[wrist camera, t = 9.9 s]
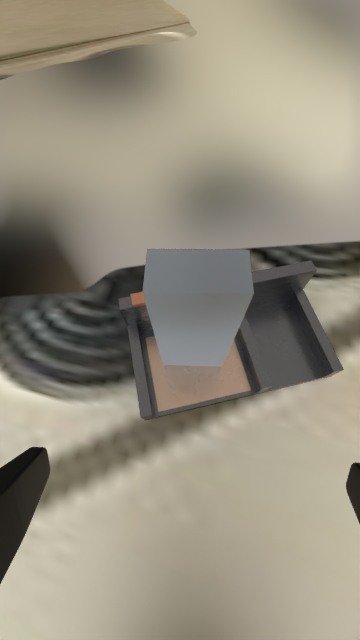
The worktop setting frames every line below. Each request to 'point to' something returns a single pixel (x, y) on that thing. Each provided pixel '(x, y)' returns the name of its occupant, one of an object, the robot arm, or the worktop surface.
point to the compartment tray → (237, 349)
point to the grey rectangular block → (196, 302)
